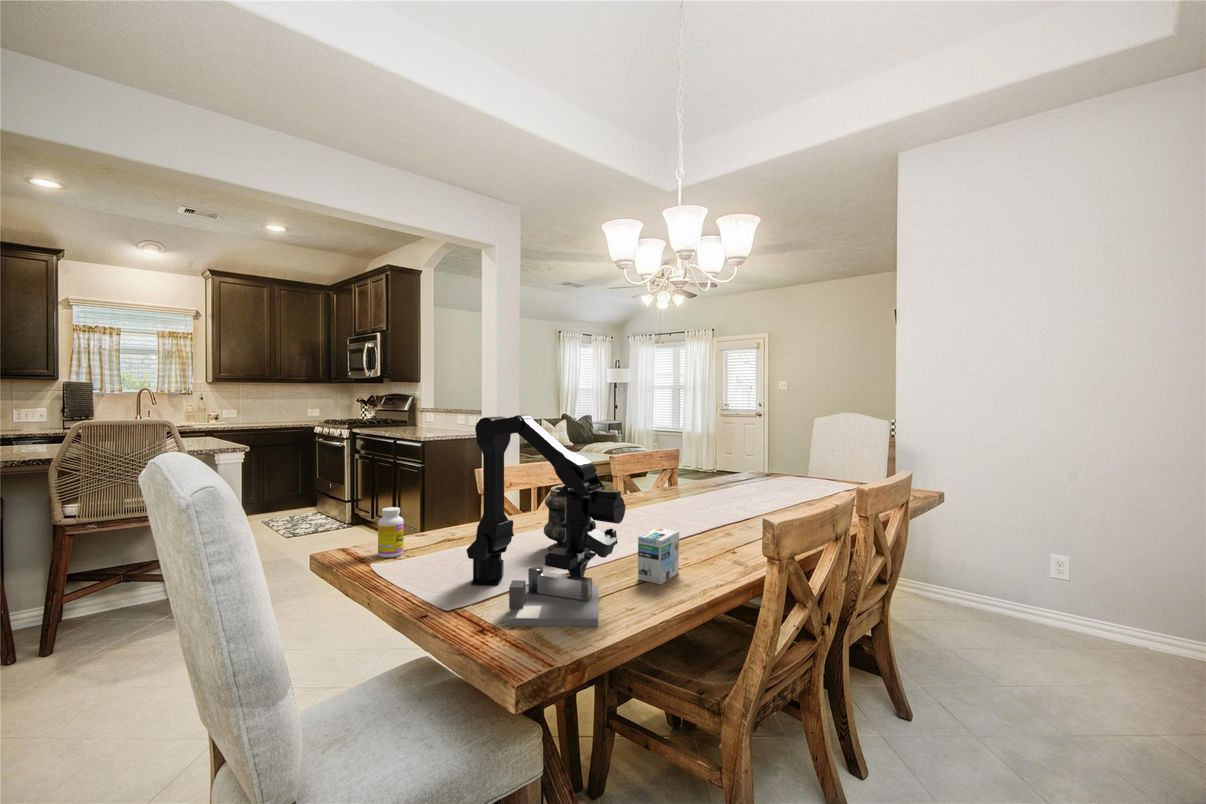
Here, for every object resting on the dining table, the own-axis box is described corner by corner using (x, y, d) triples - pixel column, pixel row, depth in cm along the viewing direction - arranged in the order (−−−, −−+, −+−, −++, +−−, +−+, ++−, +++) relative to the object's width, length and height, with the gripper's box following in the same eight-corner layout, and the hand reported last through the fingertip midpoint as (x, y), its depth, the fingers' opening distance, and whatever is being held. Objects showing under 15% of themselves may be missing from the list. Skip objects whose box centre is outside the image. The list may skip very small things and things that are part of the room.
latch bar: (525, 592, 119) (525, 570, 119) (532, 587, 122) (532, 566, 122) (587, 601, 115) (587, 578, 114) (592, 595, 118) (593, 574, 117)
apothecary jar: (584, 556, 152) (585, 491, 151) (541, 555, 151) (542, 491, 151) (585, 543, 164) (585, 484, 163) (545, 543, 163) (545, 484, 163)
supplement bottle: (398, 558, 148) (398, 511, 147) (373, 558, 148) (373, 511, 148) (407, 551, 154) (407, 506, 154) (384, 550, 155) (384, 506, 154)
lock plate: (505, 625, 106) (505, 595, 106) (518, 591, 124) (519, 565, 124) (598, 626, 107) (598, 596, 106) (598, 592, 125) (598, 566, 124)
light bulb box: (661, 585, 129) (661, 540, 129) (636, 580, 133) (636, 536, 133) (679, 572, 138) (680, 530, 138) (655, 568, 142) (656, 527, 142)
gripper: (590, 533, 107) (590, 610, 108) (628, 512, 124) (628, 578, 125) (542, 526, 112) (543, 600, 113) (586, 506, 129) (586, 570, 130)
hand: (578, 586), depth 120 cm, fingers closed
